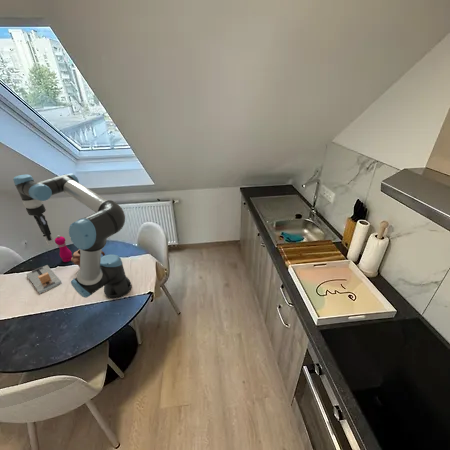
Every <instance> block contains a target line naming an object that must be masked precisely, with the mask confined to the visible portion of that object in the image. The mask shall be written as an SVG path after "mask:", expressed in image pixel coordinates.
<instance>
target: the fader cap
mask: <svg viewBox="0 0 450 450" xmlns="http://www.w3.org/2000/svg"><path fill="white" fill-rule="evenodd" d="M38 278H39V280H40V282H41V283H42V284H44V283H46V282H48V281H50V280H51V278H50V276H49V274H48V273H47V272H46V273H44V274H42V275H40V276H38Z"/></svg>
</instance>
